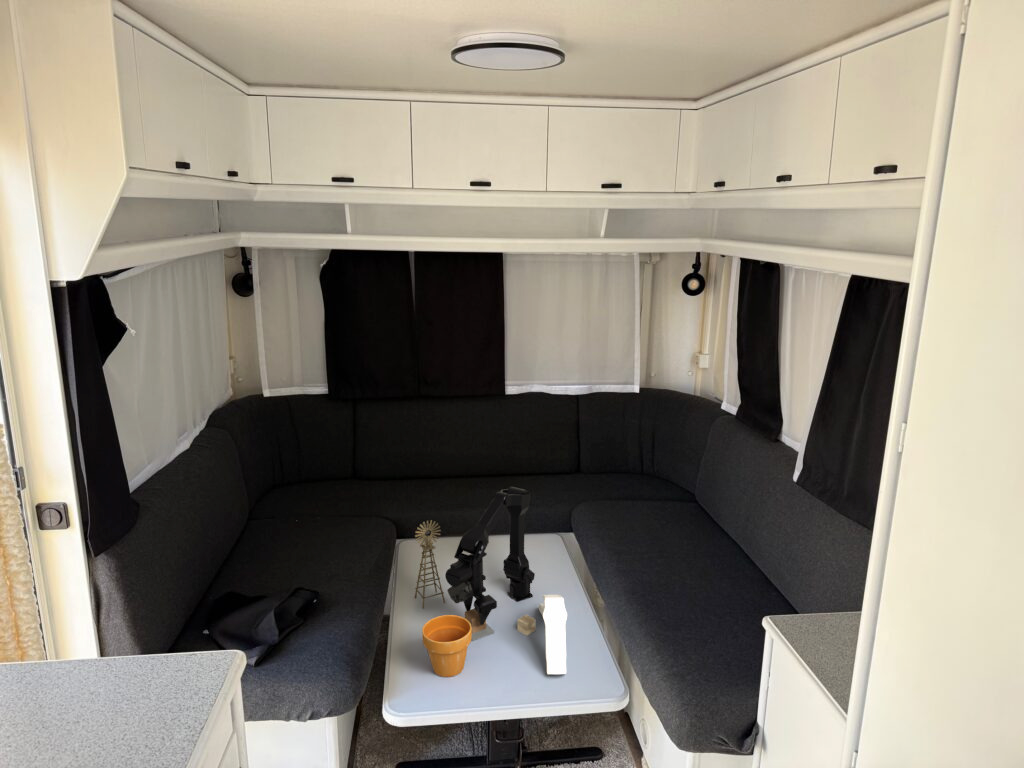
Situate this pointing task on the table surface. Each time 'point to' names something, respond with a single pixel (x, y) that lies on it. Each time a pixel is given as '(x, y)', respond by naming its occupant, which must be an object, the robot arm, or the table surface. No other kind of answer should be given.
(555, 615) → the white elongated block
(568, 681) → the table surface
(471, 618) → the walnut cube
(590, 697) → the table surface
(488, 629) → the plate
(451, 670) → the flower pot
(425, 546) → the miniature windmill
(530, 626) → the maple cube
